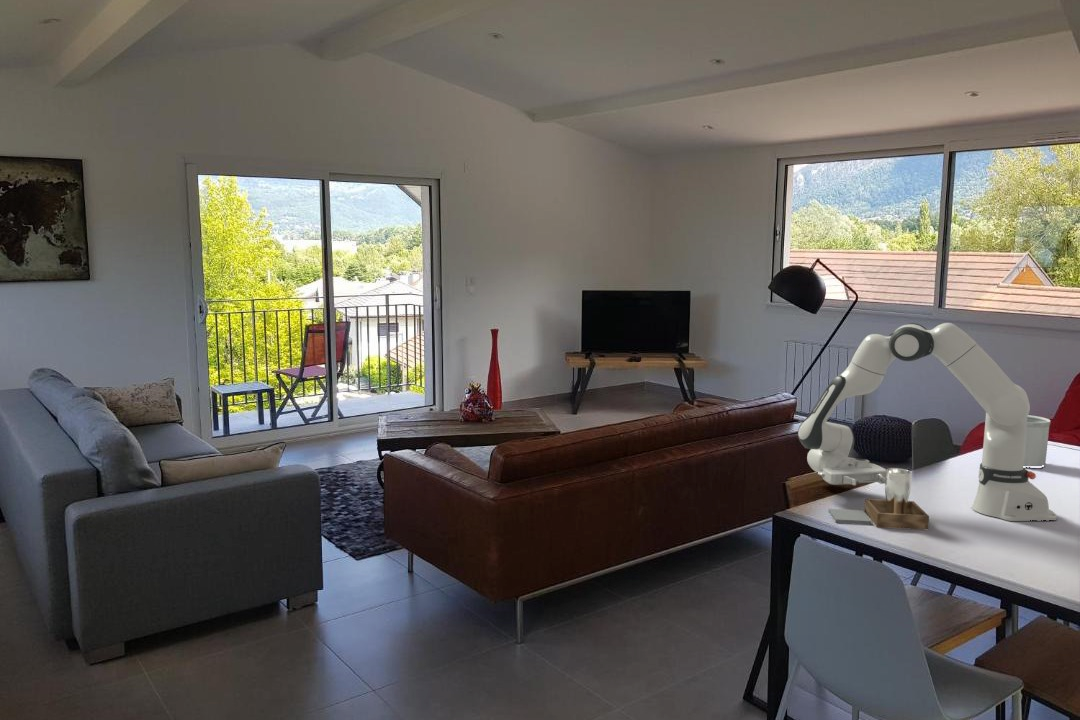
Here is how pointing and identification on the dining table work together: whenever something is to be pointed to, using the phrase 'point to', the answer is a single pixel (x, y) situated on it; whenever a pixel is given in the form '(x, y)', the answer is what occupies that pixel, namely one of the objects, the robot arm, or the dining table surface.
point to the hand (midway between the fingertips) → (870, 482)
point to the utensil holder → (1036, 441)
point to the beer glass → (897, 490)
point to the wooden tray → (896, 515)
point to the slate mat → (849, 516)
